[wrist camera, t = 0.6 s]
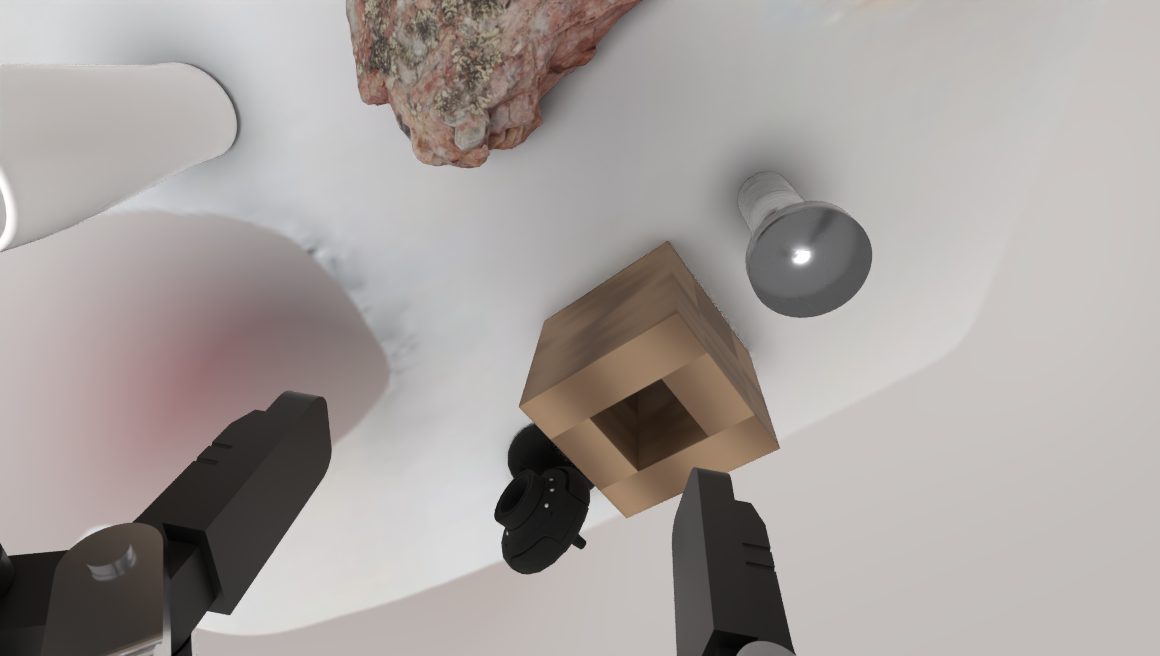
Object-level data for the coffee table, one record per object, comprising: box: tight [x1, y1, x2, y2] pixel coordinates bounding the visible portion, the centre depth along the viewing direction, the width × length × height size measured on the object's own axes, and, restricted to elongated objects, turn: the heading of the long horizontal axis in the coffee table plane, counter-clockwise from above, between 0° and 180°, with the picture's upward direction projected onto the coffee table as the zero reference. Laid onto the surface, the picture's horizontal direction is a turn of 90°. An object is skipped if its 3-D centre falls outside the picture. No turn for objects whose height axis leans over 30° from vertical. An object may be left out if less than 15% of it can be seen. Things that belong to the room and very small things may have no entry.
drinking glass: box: [0, 62, 237, 252], centre depth 27 cm, size 7×7×15 cm
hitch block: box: [519, 241, 780, 518], centre depth 34 cm, size 10×10×10 cm
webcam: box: [494, 425, 595, 574], centre depth 40 cm, size 8×8×10 cm
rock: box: [346, 0, 642, 168], centre depth 26 cm, size 16×11×15 cm
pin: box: [738, 172, 872, 318], centre depth 29 cm, size 5×5×10 cm
